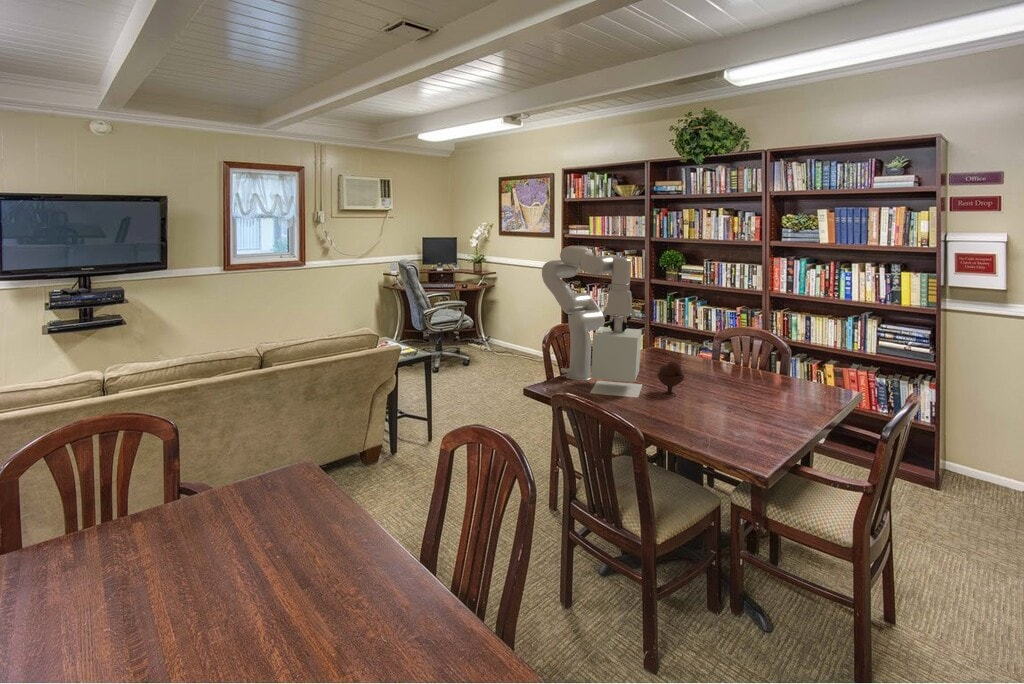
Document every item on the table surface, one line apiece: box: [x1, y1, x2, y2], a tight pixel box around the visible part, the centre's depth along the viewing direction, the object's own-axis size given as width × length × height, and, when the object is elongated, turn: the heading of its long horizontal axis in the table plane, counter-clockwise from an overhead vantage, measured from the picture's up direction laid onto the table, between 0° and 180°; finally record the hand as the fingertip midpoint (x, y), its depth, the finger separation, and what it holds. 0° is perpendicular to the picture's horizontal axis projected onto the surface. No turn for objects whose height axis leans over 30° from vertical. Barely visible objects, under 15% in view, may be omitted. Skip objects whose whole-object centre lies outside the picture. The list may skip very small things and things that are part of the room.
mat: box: [589, 380, 643, 398], centre depth 245 cm, size 20×20×1 cm
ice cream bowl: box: [656, 360, 685, 398], centre depth 238 cm, size 11×11×15 cm
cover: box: [591, 316, 643, 383], centre depth 242 cm, size 18×18×25 cm
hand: (618, 330), depth 241 cm, fingers closed on cover, 4 cm apart
